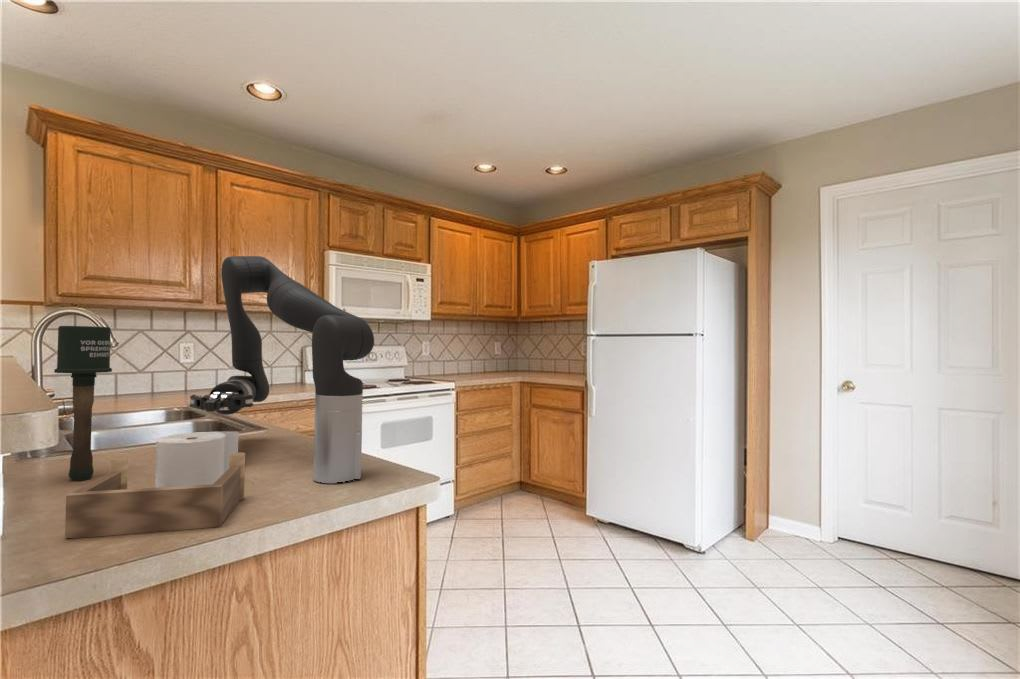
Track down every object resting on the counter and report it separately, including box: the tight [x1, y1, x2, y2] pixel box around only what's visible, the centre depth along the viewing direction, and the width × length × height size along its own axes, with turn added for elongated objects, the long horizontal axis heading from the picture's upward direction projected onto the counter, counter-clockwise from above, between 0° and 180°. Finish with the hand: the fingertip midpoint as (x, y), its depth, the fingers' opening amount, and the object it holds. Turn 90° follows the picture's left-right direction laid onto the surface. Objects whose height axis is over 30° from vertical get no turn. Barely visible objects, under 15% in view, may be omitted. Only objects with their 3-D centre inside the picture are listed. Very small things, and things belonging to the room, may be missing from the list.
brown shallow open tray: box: [64, 451, 246, 540], centre depth 77 cm, size 20×14×8 cm
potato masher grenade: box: [54, 325, 113, 482], centre depth 96 cm, size 8×9×30 cm
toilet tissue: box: [154, 430, 240, 488], centre depth 90 cm, size 11×12×10 cm
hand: (210, 406), depth 100 cm, fingers closed
